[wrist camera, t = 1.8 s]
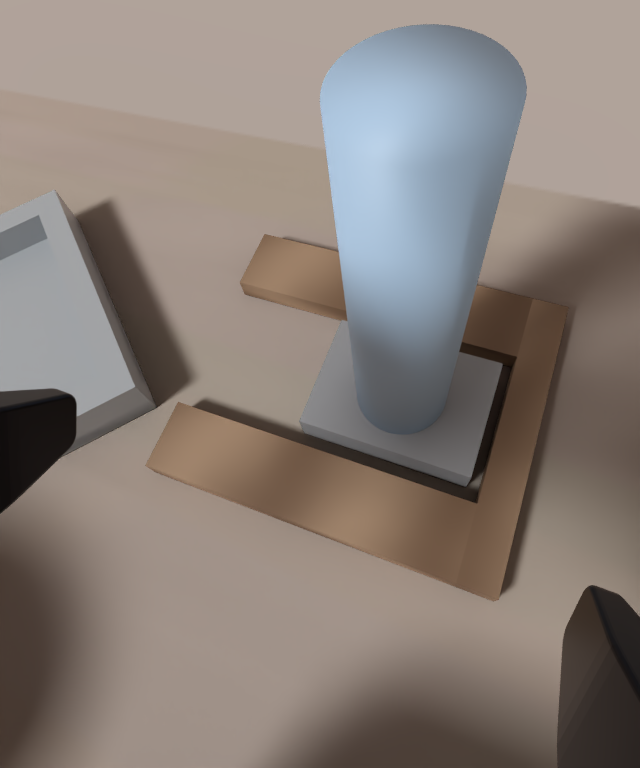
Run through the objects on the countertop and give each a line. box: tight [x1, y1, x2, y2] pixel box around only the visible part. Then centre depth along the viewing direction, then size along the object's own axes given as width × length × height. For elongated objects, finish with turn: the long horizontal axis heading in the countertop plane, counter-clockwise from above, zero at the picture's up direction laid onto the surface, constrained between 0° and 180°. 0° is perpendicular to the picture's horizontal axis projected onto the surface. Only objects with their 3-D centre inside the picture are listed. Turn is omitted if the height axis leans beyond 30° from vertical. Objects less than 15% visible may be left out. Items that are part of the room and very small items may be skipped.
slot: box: [145, 234, 569, 601], centre depth 23 cm, size 14×12×1 cm
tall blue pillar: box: [299, 24, 527, 487], centre depth 16 cm, size 7×5×15 cm
